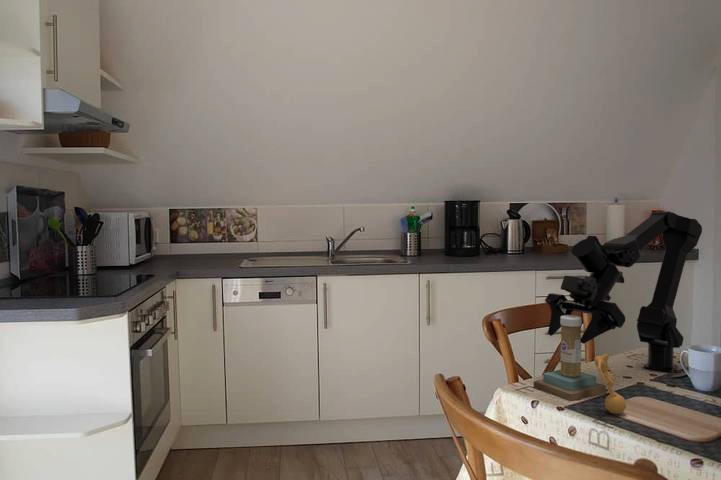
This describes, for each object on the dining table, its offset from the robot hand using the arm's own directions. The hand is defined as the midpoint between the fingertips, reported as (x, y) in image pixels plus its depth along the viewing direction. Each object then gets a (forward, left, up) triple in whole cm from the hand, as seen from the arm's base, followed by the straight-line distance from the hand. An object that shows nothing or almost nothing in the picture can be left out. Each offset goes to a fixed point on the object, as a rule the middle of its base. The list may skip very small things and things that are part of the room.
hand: (565, 338), depth 132 cm
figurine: (+8, +12, -12) cm, 19 cm away
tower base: (-1, 0, -12) cm, 12 cm away
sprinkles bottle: (-1, +1, -9) cm, 9 cm away
